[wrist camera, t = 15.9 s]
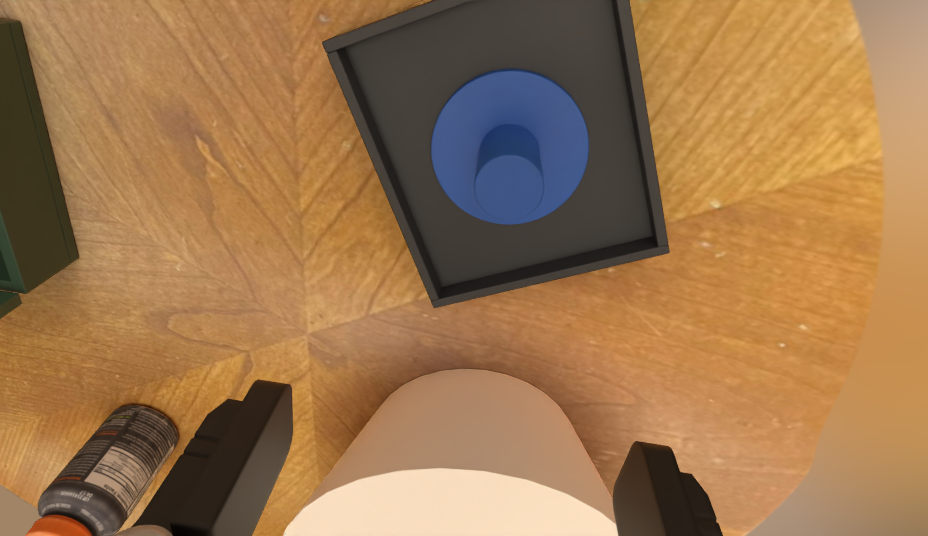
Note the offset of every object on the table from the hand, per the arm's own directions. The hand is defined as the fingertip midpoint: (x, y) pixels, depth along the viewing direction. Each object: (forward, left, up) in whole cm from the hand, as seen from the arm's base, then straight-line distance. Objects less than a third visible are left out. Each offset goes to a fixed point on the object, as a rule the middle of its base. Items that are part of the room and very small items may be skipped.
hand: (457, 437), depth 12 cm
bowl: (+24, -9, -22) cm, 34 cm away
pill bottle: (+15, -36, -23) cm, 45 cm away
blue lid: (0, +1, -22) cm, 22 cm away
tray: (0, +1, -22) cm, 22 cm away
